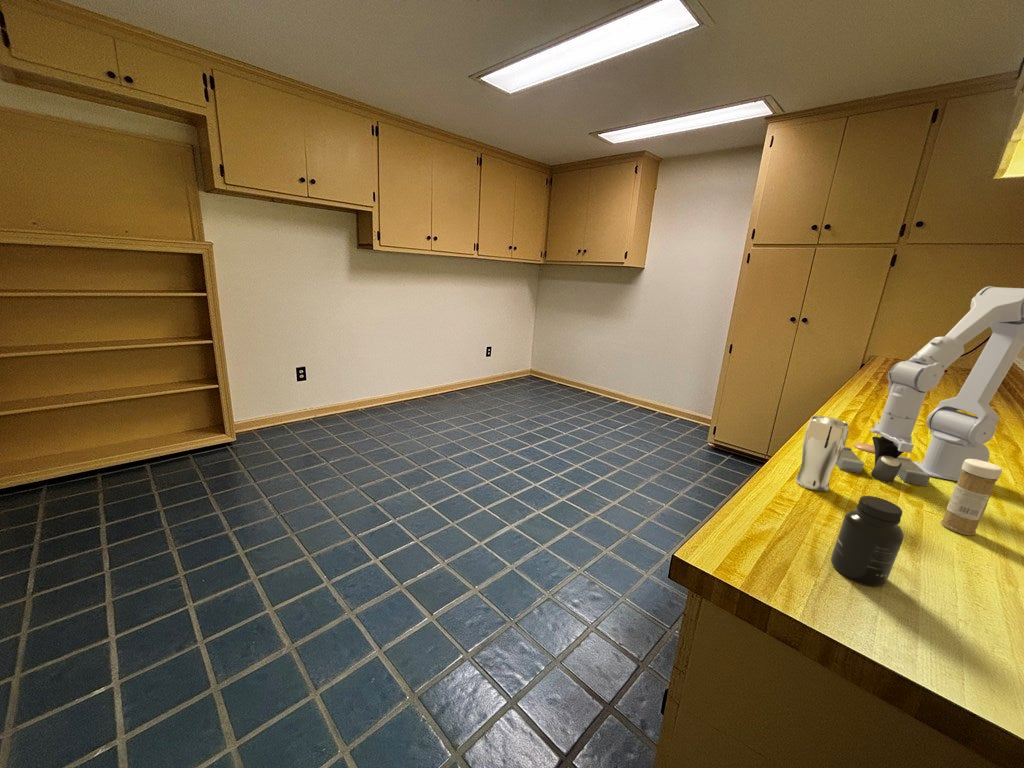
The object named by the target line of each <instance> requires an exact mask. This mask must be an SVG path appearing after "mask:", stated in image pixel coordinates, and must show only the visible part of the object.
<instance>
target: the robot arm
mask: <svg viewBox="0 0 1024 768" xmlns="http://www.w3.org/2000/svg"><path fill="white" fill-rule="evenodd" d="M988 328H990V329H991V332H992V334H991V335H990V337H989V339H988V341H987V342H986V344H985V346H984V348H983V350H982V351H981V353H980V355H979V357H978V359H977V360H976V362H975V364H974V366H973V367H972V369H971V371H970V373H969V374H968V376H967V378H966V379H965V381H964V383H963V385H962V387H961V388H960V391H959V392H958V394H957V395H956V396H954V397H950V398H947V399H943V400H940V401H939V403H938V404H937V406H936V407H935V408H934V409H933V410H932V411H931V412H930V413H929V414H928V415H927V419H926V426H927V428H928V429H929V430H930V431H929V434H930V435H932V436H931V439H930V442H929V445H928V447H927V450H926V452H925V456H924V458H923V460H922V462H921V461H915V460H914V461H913V462H914V463H915V464H916V465H917V466H918V467H919V468H921V469H922V470H923V471H924V472H925V473H928V474H930V475H931V476H930V477H934V478H939V479H943V480H944V479H945V480H949V481H953V482H954V481H955V482H958V480H959V477H960V474H961V472H962V465H963V463H964V461H965V460H966V459H976V460H981V461H985V462H989V460H990V449H989V448H988V446H986V445H985V444H986V443H989V441H990V440H991V439H992V438H993V437H994V436H995V433H996V426H997V424H998V422H999V419H1000V417H999V415H998V414H997V413H996V411H995V410H994V409H993V408H992V406H990V402H991V401H992V399H993V398H994V396H995V394H996V392H997V391H998V389H999V387H1000V385H1001V384H1002V382H1003V380H1004V379H1005V377H1006V376H1007V374H1008V372H1009V370H1010V369H1011V367H1012V365H1013V363H1014V362H1015V360H1016V358H1017V357H1018V355H1019V354H1020V352H1021V350H1022V348H1024V347H1023V346H1024V288H1021V287H1001V286H1000V287H999V286H998V287H997V286H992V285H991V286H989V285H988V286H985V287H983V288H982V289H980V291H978V292H977V293H976V294H975V296H973V298H971V302H970V310H969V311H968V312H967V313H966V314H965V315H964V316H963V317H962V318H961V319H960V320H959V321H958V322H957V323H956V324H955V325H954V326H953V327H952V328H951V329H950V330H949V332H947V334H945V336H936V337H933V338H932V339H931V340H930V341H929V342H928V343H927V344H925V345H924V346H923V347H922V348H921V349H919V350H918V351H917V352H915V353H914V355H913V356H911V357H910V358H909V359H908V360H904V361H903V360H902V361H900V362H897V363H895V364H894V365H893V366H892V367H891V369H890V370H889V371H888V372H887V379H888V387H887V391H888V397H887V398H886V402H885V405H884V408H883V410H882V414H881V416H880V419H879V422H878V421H876V422H875V424H874V427H870V430H869V431H870V432H871V433H872V434H877V435H879V437H878V436H872V437H871V439H872V442H873V446H874V447H875V453H874V465H875V464H876V462H877V460H878V458H879V457H880V456H891V457H894V458H897V457H898V456H901V455H902V454H903V453H908V454H911V453H912V451H913V449H914V444H913V442H912V438H913V437H912V433H913V431H914V429H915V426H916V423H917V421H918V417H919V415H920V411H921V408H922V407H923V405H924V401H925V398H926V395H927V392H930V391H932V390H933V389H936V387H937V386H938V385H939V383H940V381H941V378H942V377H943V376H944V374H945V371H946V369H948V367H949V366H951V365H952V364H953V363H954V362H955V361H957V359H959V358H960V357H961V356H962V355H964V354H965V348H964V345H966V344H967V343H969V342H970V341H972V340H973V339H975V338H976V337H977V336H978V335H980V334H981V333H982V332H984V331H985V330H987V329H988ZM961 411H964V412H965V413H964V412H961ZM966 412H967V413H966ZM969 413H970V414H969ZM972 414H974V415H972Z"/></svg>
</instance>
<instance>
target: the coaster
mask: <svg viewBox="0 0 1024 768" xmlns="http://www.w3.org/2000/svg"><path fill="white" fill-rule="evenodd" d="M853 446H854V447H855V448H856V449H858V450H861V451H864V452H867V453H871V454H875V447H874V444H873V445H872V444H870V443H865V442H854V444H853Z"/></svg>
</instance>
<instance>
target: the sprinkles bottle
mask: <svg viewBox="0 0 1024 768" xmlns="http://www.w3.org/2000/svg"><path fill="white" fill-rule="evenodd" d="M1002 473H1003V468H1001V467H1000V466H999V465H997V464H994V463H991V462H989V461H988V462H985V461H981V460H976V459H966V460H965V461H964V463H963V465H962V472H961V474H960V477H959V480H958V481H956V482H957V483H955V486H954V489H953V492H952V494H951V496H950V499H949V501H948V504H947V507H946V510H945V513H944V516H943V517H942V520H941V521H940V523H941V525H942V526H943V527H944V528H946V529H947V530H950V531H952V532H955V533H957V534H960V535H964V536H974V535H976V534H977V528H978V526H979V523H980V521H981V519H982V517H983V516H984V513H985V511H986V509H987V506H988V502H989V500H990V498H991V495H992V492H993V489H994V487H995V486H996V483H997V481H998V480H999V479H1000V477H1001V476H1002V475H1001V474H1002Z"/></svg>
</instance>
